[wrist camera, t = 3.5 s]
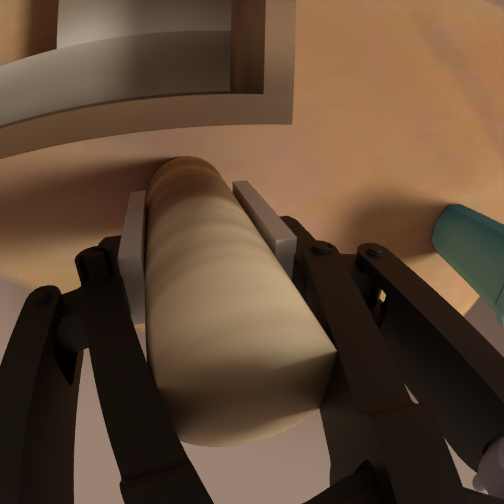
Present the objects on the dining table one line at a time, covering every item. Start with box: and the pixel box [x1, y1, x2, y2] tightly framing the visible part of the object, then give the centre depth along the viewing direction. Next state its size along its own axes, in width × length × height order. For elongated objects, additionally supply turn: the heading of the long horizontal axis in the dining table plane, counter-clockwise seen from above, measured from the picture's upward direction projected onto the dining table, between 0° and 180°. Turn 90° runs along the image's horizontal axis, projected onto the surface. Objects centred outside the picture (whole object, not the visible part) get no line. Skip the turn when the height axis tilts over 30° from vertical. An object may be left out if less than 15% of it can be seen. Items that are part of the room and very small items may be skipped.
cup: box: [431, 204, 504, 327], centre depth 20 cm, size 14×8×15 cm, turn 113°
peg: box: [145, 156, 337, 447], centre depth 12 cm, size 4×4×14 cm
